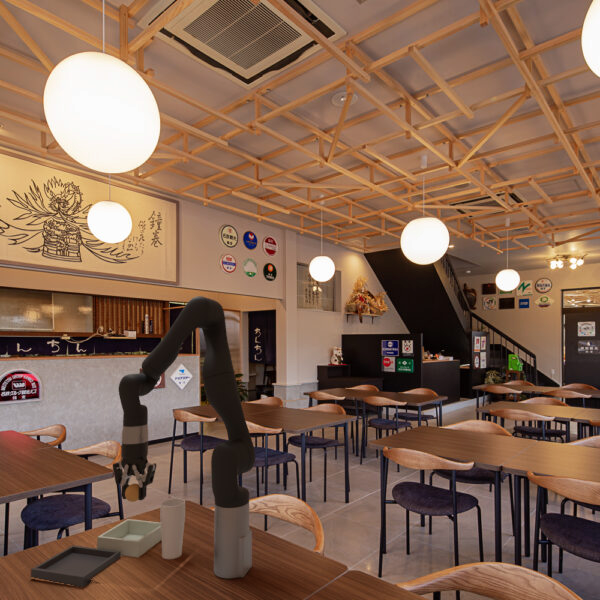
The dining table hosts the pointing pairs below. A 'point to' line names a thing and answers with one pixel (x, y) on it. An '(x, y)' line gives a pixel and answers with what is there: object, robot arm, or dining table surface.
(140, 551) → the open box
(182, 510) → the drinking glass
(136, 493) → the ball
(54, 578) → the tray
